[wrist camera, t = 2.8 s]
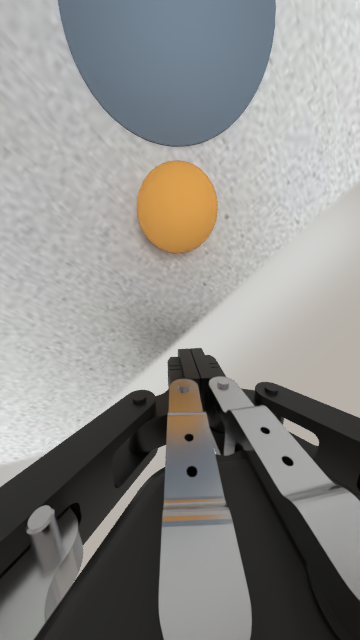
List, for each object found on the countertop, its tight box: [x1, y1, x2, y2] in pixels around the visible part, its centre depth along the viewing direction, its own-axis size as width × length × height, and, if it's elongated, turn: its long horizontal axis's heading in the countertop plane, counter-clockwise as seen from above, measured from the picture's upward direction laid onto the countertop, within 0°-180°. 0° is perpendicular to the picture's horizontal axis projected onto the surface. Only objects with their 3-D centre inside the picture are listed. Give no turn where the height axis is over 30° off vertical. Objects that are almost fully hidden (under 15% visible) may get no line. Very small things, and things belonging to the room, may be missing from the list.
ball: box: [137, 161, 218, 253], centre depth 14 cm, size 6×6×6 cm
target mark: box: [58, 0, 276, 146], centre depth 13 cm, size 14×14×1 cm
